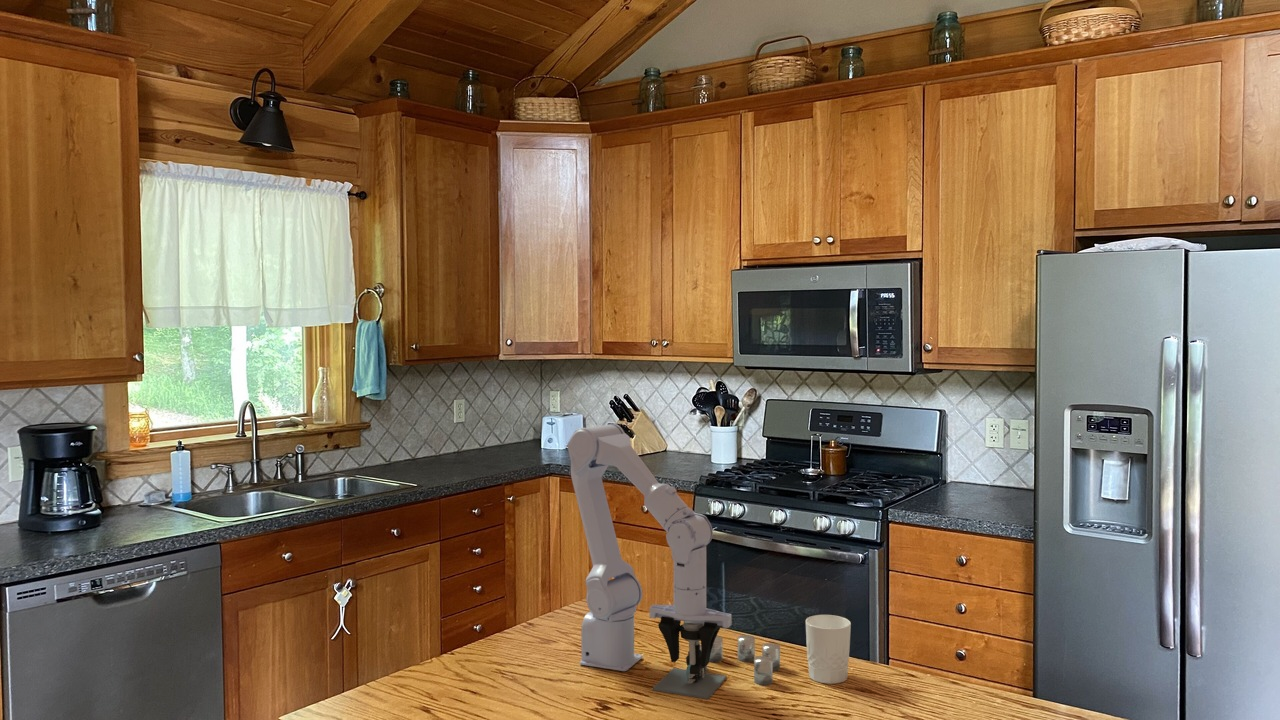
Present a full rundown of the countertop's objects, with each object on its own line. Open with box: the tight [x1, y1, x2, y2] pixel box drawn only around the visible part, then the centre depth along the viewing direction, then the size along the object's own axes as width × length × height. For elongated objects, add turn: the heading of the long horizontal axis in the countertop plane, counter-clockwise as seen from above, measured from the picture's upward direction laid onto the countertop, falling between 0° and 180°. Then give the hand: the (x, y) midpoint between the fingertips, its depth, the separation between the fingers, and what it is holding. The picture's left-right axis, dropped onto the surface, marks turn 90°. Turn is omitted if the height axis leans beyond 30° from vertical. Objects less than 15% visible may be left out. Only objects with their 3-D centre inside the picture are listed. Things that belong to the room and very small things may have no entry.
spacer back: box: [737, 634, 756, 663], centre depth 178 cm, size 3×3×4 cm
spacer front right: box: [753, 655, 774, 686], centre depth 167 cm, size 3×3×4 cm
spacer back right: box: [761, 642, 781, 672], centre depth 174 cm, size 3×3×4 cm
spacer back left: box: [709, 635, 724, 664], centre depth 178 cm, size 3×3×4 cm
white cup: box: [805, 614, 852, 685], centre depth 169 cm, size 8×8×10 cm
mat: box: [652, 667, 727, 700], centre depth 166 cm, size 10×10×1 cm
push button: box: [679, 621, 706, 683], centre depth 167 cm, size 7×5×10 cm
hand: (690, 662), depth 166 cm, fingers closed on push button, 5 cm apart
